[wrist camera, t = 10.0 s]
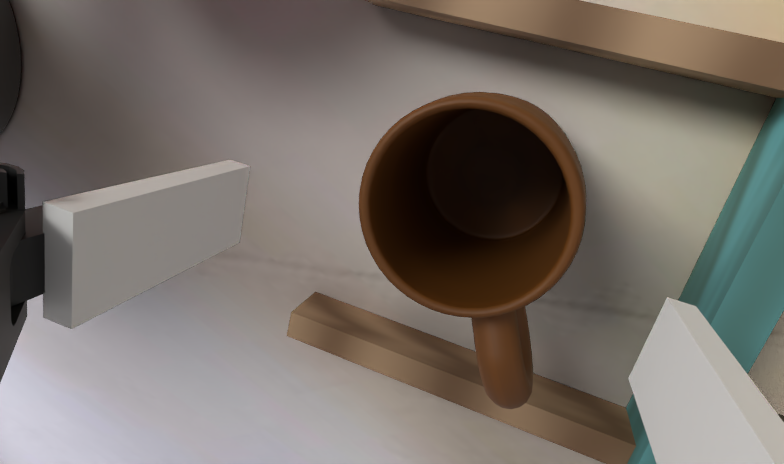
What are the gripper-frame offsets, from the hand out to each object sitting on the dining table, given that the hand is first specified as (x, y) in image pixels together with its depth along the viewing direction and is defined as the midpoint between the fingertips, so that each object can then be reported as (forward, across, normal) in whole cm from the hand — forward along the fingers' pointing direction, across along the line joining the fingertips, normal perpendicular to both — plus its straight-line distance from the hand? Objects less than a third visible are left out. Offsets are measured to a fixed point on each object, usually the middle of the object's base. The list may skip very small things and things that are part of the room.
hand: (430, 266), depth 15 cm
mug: (+11, +2, 0) cm, 11 cm away
